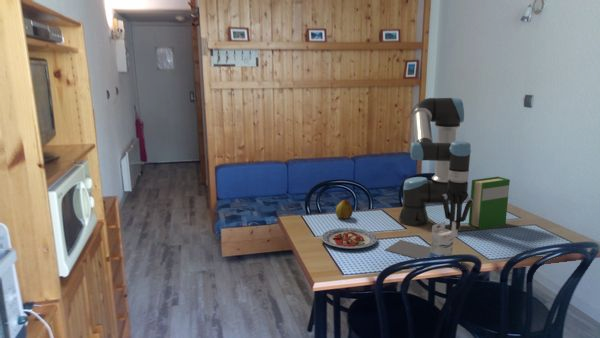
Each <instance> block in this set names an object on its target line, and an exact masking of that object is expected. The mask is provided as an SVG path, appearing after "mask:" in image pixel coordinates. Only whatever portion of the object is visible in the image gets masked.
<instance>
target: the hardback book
mask: <svg viewBox="0 0 600 338" xmlns="http://www.w3.org/2000/svg"><path fill="white" fill-rule="evenodd" d="M510 183H511V182H510V179H509V178H505V177H502V176H501V177H500V176H493V177H483V178H477V179H476V178H475V179H471V190H470V198H471V199H473V200H474V201H473V203H472V204H471V205H470V208H469V211H468V214H469V215H468V226H469V227H472V226H474V227H477V228H478V229H477V230H479V231H481V230H486V229H490V228H495V227H502V226H506V223H507V222H506V221H507V214H508V213H507V212H508V202H509V201H508V200H509V193H510Z"/></svg>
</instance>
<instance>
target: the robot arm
mask: <svg viewBox="0 0 600 338" xmlns="http://www.w3.org/2000/svg"><path fill="white" fill-rule="evenodd" d="M464 109H465V108H464V103H463V99H461V98H458V97H457V98H456V97H429V98H427V97H426V98H424V99H422V100H421V101H419V102H417V103H416V104H415V105H414V106H413V108H412V110H411V113H410V117H411V118H410V120H411V122H412V124H413V131H414V142H411V145H410V159H411V160H414V161H419V162H420V161H431V162H432V161H433V162H434V161H435V172H434V175H433V176H431V180H429V179H428V178H427V177H423V176H416V177H415V176H414V177H410V178H407V179H405V181H404V183H403V187H402V189H403V190H402V191H403V197H402V208H401V211H400V213H399V216H398V221H399V223H402V224H404V225H407V226H412V227H413V226H414V227H418V226H419V227H420V226H422V227H423V226H425V225H428V224H429V221H430V219H429V215H428V212H427V206H426V205H427V204H436V205H437V204H439V205H440V204H441V205H442V206H443V211H444V217H445V219H447V220H449V229H451V231H452V232H451V237H453V239H454V238H456V237H457V236H458V231H459V230H460V229H461V223H463V222H465V221H466V219H467V216H468V214H469V212H470V205H471V204H472V203H473V201H474V200H473V199H471V197H470V196H469V193H468V189H469V188H468V187H469V176H470V175H469V174H470V172H469V171H470V161H471V160H470V159H471V153H472V150H471V148H472V147H471V143H470V142H467V141H463V140H462V141H461V140H459V141H458V140H457V141H456V138H457V129H459V127H460V126H461V123H464V121H465V110H464ZM431 122H432V123H434V126H435V127H436V128H437V140H436V142H433V133H432V126H431V125H432V124H431ZM465 201H466V204H465V206H464V209H463V204H464V202H465Z"/></svg>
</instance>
